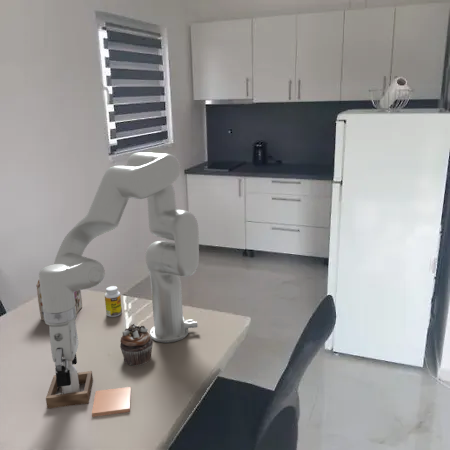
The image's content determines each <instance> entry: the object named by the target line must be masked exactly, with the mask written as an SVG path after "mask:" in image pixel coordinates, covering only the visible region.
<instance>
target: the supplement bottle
mask: <svg viewBox="0 0 450 450" xmlns="http://www.w3.org/2000/svg"><path fill="white" fill-rule="evenodd" d="M105 290H106V291H105V293H104V302H105V311H106V312H105V313H106V316H107V317H110V318H115V317H119V316H121V315H122V313H123V308H122V297H121V296H122V295H121V292H120V291H119V289H118V287H117V286H116V285H111V286H108V287H106V289H105Z"/></svg>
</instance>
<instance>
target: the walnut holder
mask: <svg viewBox="0 0 450 450" xmlns="http://www.w3.org/2000/svg"><path fill="white" fill-rule="evenodd" d="M77 373H78V380H79V385H84V388H83V389H84V390H83V391H80V392H74V393H66V394H63V393H61V394H60V393H58V394H57V392H58V389H59V387H58V386H57V380H56V374H55V375H53V377H52V379H51V382H50V384H49V387H48V391H47V393H46V397H45V401H46V402H45V403H46V409H47V410H48V409H55V408H64V407H71V406H79V405H86V404H87V405H88V404H89V403H90V400H91V399H90V397H91V393H92V390H93V389H92V388H93V382H94V377H93V371H92V370H89V371H81V372H77Z"/></svg>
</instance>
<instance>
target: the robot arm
mask: <svg viewBox="0 0 450 450" xmlns="http://www.w3.org/2000/svg"><path fill="white" fill-rule="evenodd" d="M126 161H127V162H126V165H114V166H111V167H108V168H107V169H106V170H105V172H104V173H103V176H102V178H101V180H100V183H99V185H98V187H97V191H96V192H95V195H94V197H93V199H92V202H91V205H90V207H89V209H88V211H87V213H86V215H85V216H84V217H83V218H82V219H81V220H80V221H78V223H77V224H75V225H74V227H72V228H71V230H69V232H67V234H66V235H65V236H64V238H63V240H62V242H61V244H60V246H59V249H58V251H57V253H56V256H55V259H54V264H50V265H46V266H44V267H42V268H41V269H40V271H39V273H38V280H39V282H40V289H41V297H42V304H43V312H44V319H45V320H44V324H46V325H47V326H48V327H49V341H50V349H51V350H50V351H51V357H52V361H53V363H54V366H55V372H54V373H55V375H56V380H57V386H58V388H61V386H69V385H71V378H70V370H68V361H72V364H73V365H76V364H77V363H78V360H77V351H78V348H79V337H78V331H77V324H76V319H77V314H76V307H75V298H74V292H75V291H78V290H81V291H82V290H89V289H92V288H94V287H97V286H98V285H99V284H101V282H102V281H103V280H104V277H105V275H106V273H105V271H106V270H105V267H104V265H103V264H102V263H101V262H100V261H99V260H96V259H93V258H90V257H87V256H83V254H84V252H85V250H86V248H87V246H88V245H89V244H90V243H91V242H92V241H93V240H95V239H96V238H98V237H99V236H101V235H103V234H106V233H108V232H111V231H113V230H115V229H117V228H118V226H119V224H120V222H121V219H122V217H123V214H124V212H125V209H126V207H127V204H128V202H129V200H130V199H134V200H143V199H144V200H145V199H146V200H147V214H148V217H147V218H148V227H149V232H150V233H151V235H152V236H154V237H155V238H159V239H163V240H156V241H154V242H152V243H150V244H149V246H147V248H146V251H145V262H146V265H147V266H146V267H147V269H148V272H149V277H150V289H151V290H150V291H151V304H152V314H153V327H151V329H150V330H149V335H150V337H151V339H152V340H153V341H155V342H158V343H163V344H164V343H167V344H169V343H174V342H179V341H181V340H183V339H184V338H186V337H187V335H189V329H191V328H192V329H195V328H198V321H194V319H193V318H191V319H190V318H189V319H185V318H184V315H183V313H184V311H183V295H182V281H181V278H180V277H184V278H185V277H191V276H192V275H194V274H195V273H196V271H197V269H198V266H199V263H200V250H199V249H200V243H199V240H200V236H199V224H198V220H197V218H196V216H195V214H194V213H192V212H191V211H189V210H185V209H179V208H178V207H177V204H176V203H177V202H176V191H175V188H174V185H173V184H174V183H175V182H176V181H177V180H178V178H179V176H180V173H181V164H180V161H179V159H178V158H177V157H176V156H175V155H174V154H170V153H161V152H148V151H147V152H145V151H144V152H142V151H141V152H134V153H132V154H131V155H129V156H128V157H127V160H126ZM164 239H165V240H164ZM168 240H170V241H168ZM171 241H172V242H171ZM173 241H174V242H173ZM63 357H65V358H66V359H62V358H63ZM62 362H65V367H64V366H62Z"/></svg>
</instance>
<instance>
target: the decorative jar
mask: <svg viewBox="0 0 450 450" xmlns="http://www.w3.org/2000/svg"><path fill="white" fill-rule="evenodd" d="M36 293H37V294H36V295H37V302H38V307H39V314H40V320H41V321H45V319H44V312H43V304H42V297H41V289H40V282H39V279H38V281H37V284H36ZM74 298H75V307H76V315H78V313H79V312H80V310H81V308H82V307H83V300H82V299H83V298H82V290H78V291H75V292H74Z"/></svg>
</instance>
